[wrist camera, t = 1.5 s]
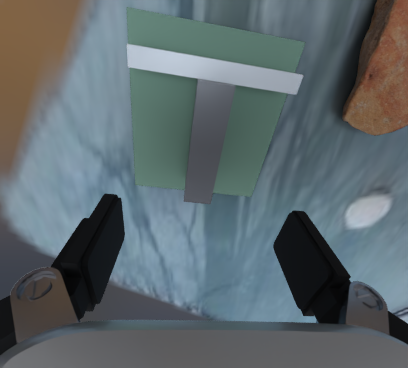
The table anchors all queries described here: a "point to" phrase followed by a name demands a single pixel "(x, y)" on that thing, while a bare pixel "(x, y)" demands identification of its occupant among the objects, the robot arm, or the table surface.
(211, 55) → the mat
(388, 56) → the ceramic shard
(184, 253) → the table surface
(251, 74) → the scraper
